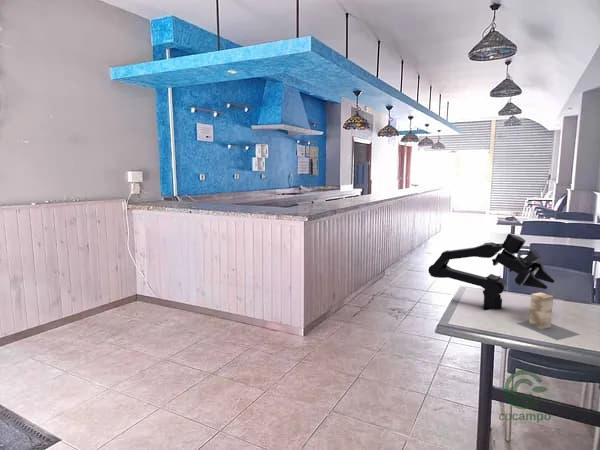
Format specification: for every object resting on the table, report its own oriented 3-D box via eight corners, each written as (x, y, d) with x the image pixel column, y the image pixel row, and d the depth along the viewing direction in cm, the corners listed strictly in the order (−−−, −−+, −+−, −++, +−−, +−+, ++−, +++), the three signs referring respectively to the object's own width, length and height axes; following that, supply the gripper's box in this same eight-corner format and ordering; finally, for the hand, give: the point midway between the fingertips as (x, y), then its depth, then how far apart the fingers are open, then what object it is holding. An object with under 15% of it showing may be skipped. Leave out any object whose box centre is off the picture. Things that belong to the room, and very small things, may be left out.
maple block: (528, 324, 150) (531, 294, 148) (538, 322, 152) (540, 292, 150) (541, 329, 145) (543, 298, 143) (550, 327, 147) (553, 296, 145)
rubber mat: (516, 324, 151) (516, 323, 151) (538, 320, 155) (538, 318, 155) (557, 341, 136) (557, 340, 136) (579, 335, 141) (580, 334, 140)
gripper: (513, 250, 151) (555, 274, 142) (529, 242, 164) (568, 262, 155) (499, 273, 156) (538, 297, 147) (516, 263, 169) (553, 284, 160)
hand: (550, 284), depth 152 cm, fingers open, 9 cm apart
